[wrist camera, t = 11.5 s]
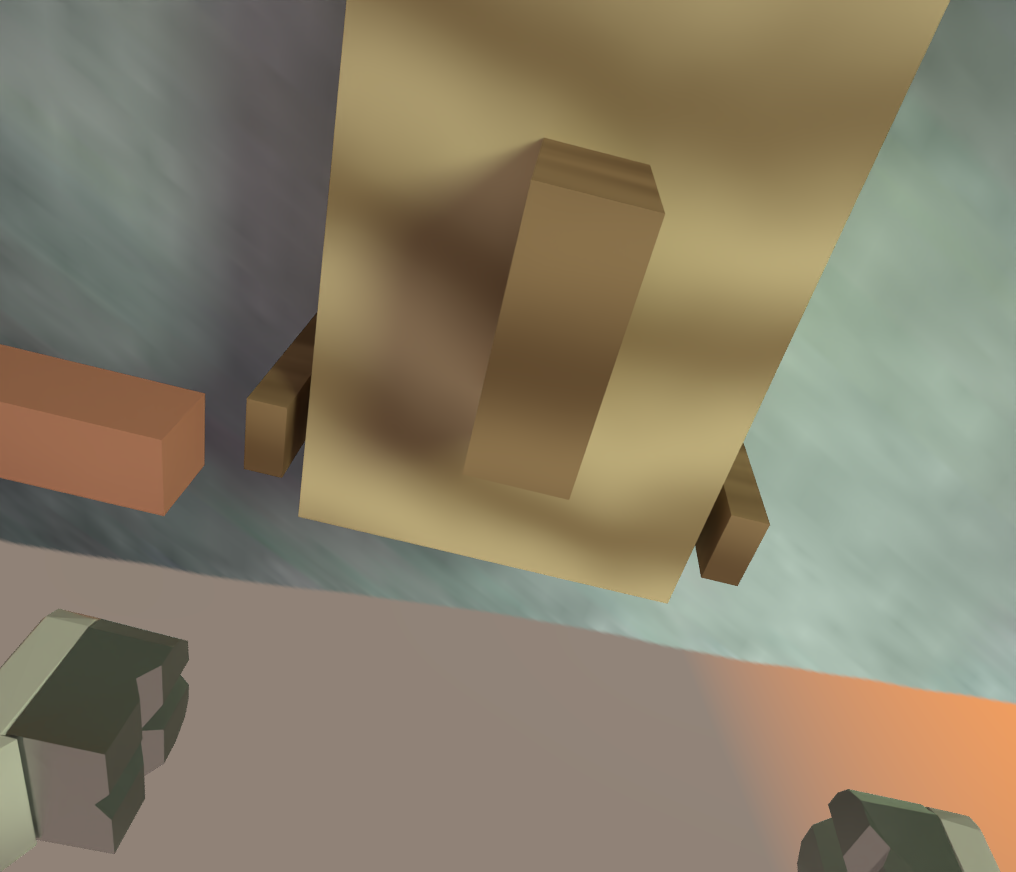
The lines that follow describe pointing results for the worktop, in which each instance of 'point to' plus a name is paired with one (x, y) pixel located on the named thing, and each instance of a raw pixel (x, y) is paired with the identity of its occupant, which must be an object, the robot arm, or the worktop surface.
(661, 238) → the toolbox lid
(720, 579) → the toolbox
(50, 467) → the bar
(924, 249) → the worktop surface
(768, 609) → the worktop surface
